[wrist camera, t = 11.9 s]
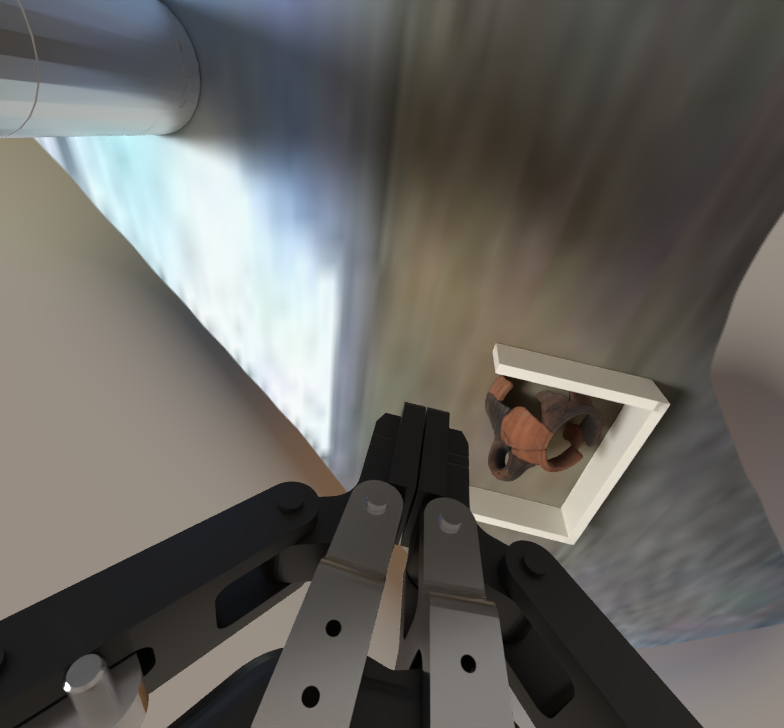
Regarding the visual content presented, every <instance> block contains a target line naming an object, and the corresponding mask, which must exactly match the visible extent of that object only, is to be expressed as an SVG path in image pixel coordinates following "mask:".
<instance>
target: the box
mask: <svg viewBox="0 0 784 728" xmlns="http://www.w3.org/2000/svg"><path fill="white" fill-rule="evenodd" d="M493 357H494V365H495V372H496V373H497V374H501V375H506V376H510V377H514V378H518V379H522V380H527V381H531V382H535V383H539V384H543V385H547V386H552V387H556V388H560V389H564V390H568V391H573V392H577V393H581V394H585V395H589V396H594V397H598V398H602V399H606V400H610V401H614V402H619V403H623V404H625V405H624V406H623V408H622V410H621V411H620V413H619V414H618V416H617V418H616V419H615V421H614V423H613V424H612V426H611V427H610V429H609V431H608V432H607V434H606V436H605V437H604V439H603V441H602V442H601V444H600V445H599V447H598V449H597V450H596V452H595V454H594V455H593V457H592V458H591V460H590V462H589V463H588V465H587V467H586V468H585V470H584V471H583V473H582V475H581V476H580V478H579V480H578V481H577V483H576V485H575V486H574V488H573V489H572V491H571V493H570V494H569V496H568V498H567V499H566V501H565V502H564V504H563V506H562V507H561V508H558V507H554V506H550V505H546V504H542V503H538V502H534V501H530V500H526V499H522V498H518V497H514V496H510V495H506V494H502V493H498V492H493V491H489V490H485V489H481V488H477V487H473V486H469V495H470V511H471V512H472V514H473V515H474V517H475V520H476V521H480V522H484V523H488V524H492V525H496V526H500V527H504V528H508V529H512V530H516V531H520V532H524V533H528V534H532V535H536V536H540V537H544V538H548V539H552V540H555V541H559V542H563V543H567V544H571V545H574V544H575V542H576V541H577V540H578V538H579V537H580V535H581V534H582V532H583V531H584V529H585V528H586V526H587V525H588V524H589V522H590V521H591V519H592V518H593V516H594V515H595V513H596V512H597V510H598V509H599V508H600V506H601V505H602V503H603V502H604V500H605V499H606V497H607V496H608V494H609V493H610V492H611V490H612V489H613V487H614V486H615V484H616V483H617V481H618V480H619V479H620V477H621V476H622V474H623V473H624V471H625V470H626V468H627V467H628V465H629V464H630V463H631V461H632V460H633V458H634V457H635V455H636V454H637V452H638V451H639V449H640V448H641V447H642V445H643V444H644V442H645V441H646V439H647V438H648V436H649V435H650V433H651V432H652V431H653V429H654V428H655V426H656V425H657V423H658V422H659V420H660V419H661V417H662V416H663V415H664V413H665V412H666V410H667V409H668V407H669V406H670V403H669V402H668V400H667V399H666V398H665V396H664V395H663V394H662V393H661V391H660V390H659V389H658V387H657V386H656V385H655V383H654V382H653V381H652V380H651V379H647V378H642V377H638V376H634V375H630V374H626V373H621V372H617V371H613V370H609V369H604V368H600V367H596V366H592V365H587V364H583V363H579V362H575V361H571V360H566V359H562V358H558V357H554V356H549V355H545V354H541V353H537V352H532V351H528V350H524V349H520V348H516V347H511V346H507V345H503V344H499V343H496V344H495V347H494V350H493Z"/></svg>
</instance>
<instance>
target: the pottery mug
mask: <svg viewBox="0 0 784 728" xmlns="http://www.w3.org/2000/svg"><path fill="white" fill-rule="evenodd" d="M512 388H513V384H512V383H511V382H510V381H509V380H507V379H506V378H505V377H504V376H500V377H499V378H498V379H497V380H496V381H495V382H494V384H493V385H492V386H491V388H490V390H489V392H488V394H487V398H486V401H485V408H486V412H487V414H488V416H489V418H490V421H491V424H492V428H493V429H494V433H495V439H494V442H493V444H492V446H491V449H490V452H489V457H488V465H489V468H490V470H491V472H492V475H494V476H495V477H496V478H497V479H499V480H502V481H513V480H515V479H517V478H518V477H520V476H521V475H522V474H523V473H524V472H525V471H526V470H527V469H529V468H531V467H534V466H535V465H540V466H541V467H542V468H543V469H544V470H546V471H548V472H558V471H562V470H565V469H567V468H569V467H571V466H573V465H574V464H576V463H577V462H579V461H580V460H581V459H582V458H583V455H582V454H581V453H580V452H579V451H578V449H579V447H580V446H581V445H582V444H583V442H584V441H585V442H586V444H587V445H588V446H589V447H592V446H593V445H594V444H595V443H596V442H597V440H598V438H599V436H600V433H601V430H602V426H603V418H602V415H601V412H600V411H599V410H598V409H597V408H596V407H595V406H593V404H592V401H591V398H590V396H589V395H585V394H581V393H577V392H573V391H569V400H568V399H567V398H566V397H565V396H563V395H561V394H556V393H552V392H550V391H543V392H540V393H538V394H537V395H536V396H537V398H538V399H539V401H540V402H541V409H542V421H539V420H538V419H537V418H536V417H534V416H533V415H532V414H531V413H530V412H529V411H528V409H526V408H523V407H520V406H518V407H515V408H514V409H513V410H512V409H511V408H509V407H507V406H506V405H504V403H503V400H504V398H505V396H506V395H507V394H508V392H509V391H510V390H511V389H512ZM580 414H586V416H585V418H584V419H583V421H582V422H581V423H580V425H578V424H573V423H568V424H567V426H566V428H565V430H564V432H563V437H564V439H565V440H568V441H570V443H571V444H572V445H571V446H570V447H569V448H568V449H567V450H566V451H564V452H563V453H562V454H561V455H559V456H557V457H554V458H552V459H549V460H547V457H546V452H547V448H548V445H549V443H550V441H551V439H552V437H553V435H554V433H555V432H556V431H557V430H558V429H559V428H560V427H561V426H562V425H563V424H564V423H566V422H567V421H568V420H570V419H572V418H573V417H575V416H577V415H580ZM507 452H508V453H509V460H508V463H507V465H506V466H505V456H506V454H507Z"/></svg>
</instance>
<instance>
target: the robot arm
mask: <svg viewBox="0 0 784 728" xmlns="http://www.w3.org/2000/svg"><path fill="white" fill-rule="evenodd" d="M199 94H200V74H199V66H198V61H197V58H196V55H195V51H194V48H193V46H192V43H191V41H190V39H189V37H188V35H187V33H186V31H185V29H184V28H183V26H182V25H181V23H180V22H179V20H178V19H177V17H176V16H175V15H174V14H173V13H172V12H171V11H170V10H169V9H168V7H167V6H166V5H164V4H163V3H162V2H160V1H159V0H0V138H24V137H25V138H26V137H74V136H123V135H126V136H132V135H165V134H169V133H173V132H176V131H178V130H179V129H181V128H182V127H184V126H185V125H186V124H187V122H188V121H189V120H190V119H191V118H192V116H193V113H194V111H195V109H196V107H197V103H198V99H199ZM449 416H450V414H449V412H446V411H441V410H437V409H433V408H429V407H427V410H426V407H425V406H421V405H416V404H412V403H408V402H405V403H404V406H403V410H402V414H401V416H396V415H392V414H388V413H385V414H384V415H383V416H382V417H381V418H380V419H378V420H377V421H376V425H375V428H374V432H373V435H372V438H371V442H370V445H369V449H368V452H367V456H366V459H365V462H364V466H363V469H362V473H361V476H360V479H359V482H358V483H357V485H356V486H355V487H354V488H353V489H352V490H350V491H349V492H347V493H345V494H342V495H338V496H330V497H318V496H317V494H316V492H315V491H314V490H313V489H312V488H311V487H309V486H308V485H306V484H303V483H300V482H284V483H280V484H278V485H276V486H274V487H272V488H270V489H268V490H265V491H263V492H261V493H259V494H257V495H255V496H253V497H251V498H249V499H247V500H245V501H243V502H241V503H239V504H237V505H235V506H233V507H231V508H229V509H227V510H225V511H223V512H221V513H219V514H217V515H215V516H213V517H210V518H209V519H207V520H204V521H202V522H201V523H198V524H196V525H194V526H192V527H190V528H188V529H186V530H184V531H182V532H180V533H178V534H176V535H174V536H172V537H170V538H168V539H166V540H164V541H162V542H160V543H158V544H156V545H153V546H151V547H149V548H147V549H145V550H143V551H141V552H140V553H137V554H135V555H133V556H131V557H129V558H127V559H125V560H123V561H121V562H119V563H117V564H115V565H113V566H111V567H109V568H107V569H105V570H103V571H101V572H99V573H96V574H94V575H92V576H90V577H88V578H86V579H84V580H82V581H80V582H78V583H76V584H74V585H72V586H70V587H68V588H66V589H64V590H62V591H60V592H58V593H56V594H54V595H52V596H50V597H48V598H46V599H44V600H42V601H40V602H37V603H35V604H33V605H31V606H30V607H27V608H25V609H23V610H21V611H19V612H17V613H15V614H13V615H11V616H9V617H7V618H5V619H3V620H1V621H0V728H140V726H141V724H142V723H143V720H144V718H145V715H146V712H147V708H148V702H149V694H150V693H151V692H153V691H154V690H155V689H157V688H158V687H159V686H161V685H162V684H164V683H165V682H167V681H168V680H170V679H171V678H172V677H174V676H175V675H177V674H178V673H179V672H181V671H182V670H184V669H185V668H187V667H188V666H189V665H191V664H192V663H194V662H195V661H197V660H198V659H199V658H201V657H202V656H204V655H205V654H206V653H208V652H209V651H211V650H212V649H213V648H215V647H216V646H218V645H219V644H221V643H222V642H223V641H225V640H226V639H228V638H229V637H231V636H232V635H233V634H235V633H236V632H237V631H239V630H240V629H242V628H243V627H245V626H246V625H248V624H249V623H250V622H252V621H253V620H255V619H256V618H258V617H259V616H260V615H262V614H263V613H264V612H266V611H268V610H269V609H270V608H272V607H273V606H274V605H276V604H277V603H279V602H280V601H282V600H283V599H285V598H286V597H287V596H289V595H290V594H292V593H293V592H294V591H296V590H297V589H299V588H300V587H301V586H302V585H303V584H304V583H305V582H306V581H311V584H310V586H309V588H308V591H307V593H306V596H305V598H304V600H303V603H302V605H301V608H300V610H299V613H298V615H297V617H296V620H295V622H294V624H293V627H292V629H291V632H290V634H289V636H288V639H287V641H286V644H285V646H284V648H280V649H276V650H273V651H270V652H267V653H265V654H263V655H261V656H259V657H257V658H254V659H253V660H251V661H250V662H248V663H247V664H245V665H243V666H242V667H241V668H240V669H238V670H237V671H235V672H234V673H233V674H232V675H231V676H229V677H228V678H227V679H226V680H224V681H223V682H222V683H221V684H220V685H218V686H217V687H216V688H215V689H213V690H212V691H211V692H210V693H209V694H208V695H206V696H205V697H204V698H202V699H201V700H200V701H199V702H198V703H196V704H195V705H194V706H193V707H191V708H190V709H189V710H188V711H187V712H185V713H184V714H183V715H182V716H180V717H179V718H178V719H177V720H176V721H174V722H173V723H172V724H171V725H169V726H168V727H167V728H519V726H518V725H517V724H516V723H515V721H514V718H513V712H512V705H511V698H510V691H509V686H510V687H511V689H512V691H513V692H514V694H515V695H516V697H517V699H518V700H519V702H520V703H521V705H522V707H523V708H524V710H525V711H526V713H527V715H528V716H529V718H530V719H531V721H532V722H533V724H534V726H535V727H536V728H703V727H702V726H701V724H700V723H699V722H698V721H697V720H696V719H695V718H694V716H693V715H692V714H691V713H690V712H689V711H688V710H687V708H686V707H685V706H684V705H683V704H682V703H681V702H680V700H679V699H678V698H677V697H676V696H675V695H674V694H673V693H672V691H671V690H670V689H669V688H668V687H667V686H666V685H665V684H664V682H663V681H662V680H661V679H660V678H659V676H658V675H657V674H656V673H655V672H654V671H653V670H652V669H651V667H650V666H649V665H648V664H647V663H646V662H645V661H644V660H643V658H642V657H641V656H640V655H639V654H638V653H637V651H636V650H635V649H634V648H633V647H632V646H631V645H630V643H629V642H628V641H627V640H626V639H625V638H624V637H623V635H622V634H621V633H620V632H619V631H618V630H617V629H616V627H615V626H614V625H613V624H612V623H611V622H610V621H609V619H608V618H607V617H606V616H605V615H604V614H603V613H602V611H601V610H600V609H599V608H598V607H597V606H596V605H595V604H594V602H593V601H592V600H591V599H590V598H589V597H588V596H587V594H586V593H585V592H584V591H583V590H582V589H581V588H580V586H579V585H578V584H577V583H576V582H575V581H574V580H573V578H572V577H571V576H570V575H569V574H568V573H567V572H566V570H565V569H564V568H563V567H562V566H561V565H560V564H559V562H558V561H557V560H556V559H555V558H554V557H553V556H552V555H551V554H550V553H549V552H548V551H547V550H546V549H545V548H543V547H542V546H540V545H538V544H536V543H533V542H530V541H524V540H521V541H516V542H514V543H512V544H511V545H510V546H508V545H506V544H504V543H502V542H501V541H499V540H497V539H495V538H493V537H492V536H490V535H489V534H487V533H486V532H485V531H483V530H482V529H481V528H480V527H479V526H478V524H477V523H476V520H475V517H474V515H473V514H472V512H471V511H470V495H469V469H468V468H469V458H468V457H469V447H468V442H467V440H466V438H465V436H464V434H463V433H462V431H458V430H454V429H450V428H449ZM401 534H402V538H401V546H405V547H409V550H408V558H407V563H406V566H405V568H404V571H403V580H402V600H401V618H400V636H399V649H398V655H397V660H396V665H395V670H391V669H389V668H387V667H385V666H383V665H382V664H380V663H378V662H377V661H375V660H373V659H372V658H370V657H368V656H367V653H368V649H369V645H370V641H371V637H372V633H373V629H374V625H375V621H376V617H377V613H378V609H379V605H380V601H381V597H382V593H383V589H384V585H385V581H386V574H387V569H388V565H389V562H390V558H391V554H392V552H393V548H394V545H395V544H396V545H398V544H399V540H400V537H401Z"/></svg>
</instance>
